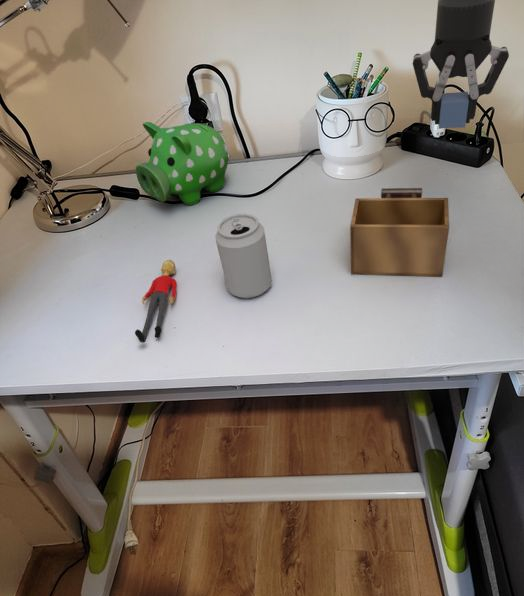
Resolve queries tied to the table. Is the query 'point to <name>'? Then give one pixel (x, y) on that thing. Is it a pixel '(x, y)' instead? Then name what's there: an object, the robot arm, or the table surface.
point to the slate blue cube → (453, 110)
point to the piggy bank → (183, 162)
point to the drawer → (399, 234)
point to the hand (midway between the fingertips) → (452, 121)
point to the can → (244, 255)
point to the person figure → (159, 299)
